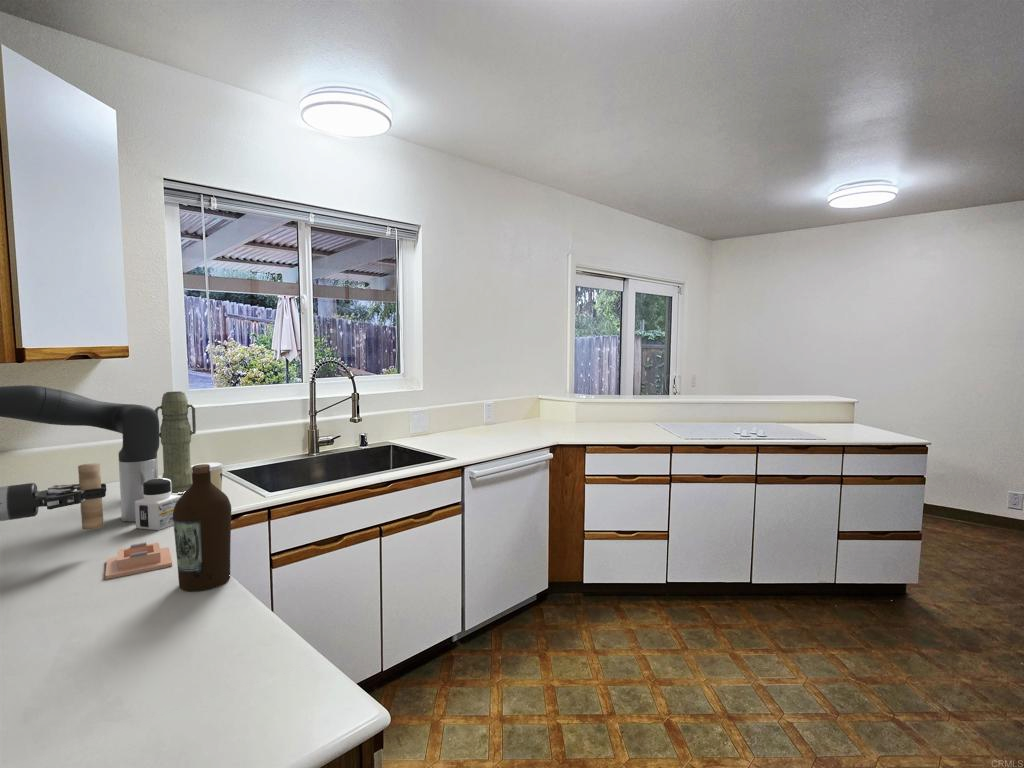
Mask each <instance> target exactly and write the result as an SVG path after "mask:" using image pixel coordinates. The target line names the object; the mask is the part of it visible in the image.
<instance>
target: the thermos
mask: <svg viewBox="0 0 1024 768" xmlns="http://www.w3.org/2000/svg"><path fill="white" fill-rule="evenodd" d="M162 395H163V396H162V397H161V402H160V403H161V404H160V405H159V406H157V407H156V408H155V409H153V410H154V411H155V412H156V413H157V415H158V413H159V410H161V416H162V419H161V425H160V426H159V439H160V443H161V445H162V460H163V464H162V465H163V474H162V477H161V478H166V479H170V480H171V489H172V493H178V492H184V491H187V490H188V489H189V488H190V487H191V485H192V483H191V473H190V468H191V447H190V445H191V444H190V443H191V442H192V436H193V435H195V434H196V430H197V428H196V425H197V424H196V408H195V407H194V406H193V404H189V403H188V402H189V401H188V398H187V396H186V393H185V392H183V391H166V392H164V393H163V394H162ZM189 408H191V418H192V419H191V421H192V422H191V423H192V424H190V422H189V417H188V414H189ZM158 416H159V415H158ZM191 425H192V430H191Z"/></svg>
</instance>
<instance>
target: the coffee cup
mask: <svg viewBox="0 0 1024 768" xmlns="http://www.w3.org/2000/svg"><path fill="white" fill-rule="evenodd" d="M201 464H208V465H210V471H211V483H212V484H213V485H215V486H216V487H217V488H218V489H220V490H221V491H222V490H223V489H222V488H223V468H224V466H223V463H221V462H216V461H214V462H211V461H210V462H201V463H196V464H193V465H190V473H191V483H193V482H192V473H193V470H192V467H193V466H195V465H201ZM222 492H223V491H222Z"/></svg>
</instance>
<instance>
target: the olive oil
mask: <svg viewBox="0 0 1024 768" xmlns="http://www.w3.org/2000/svg"><path fill="white" fill-rule="evenodd" d="M194 465H195V464H194ZM192 470H193V473H192V482H193V483H192V485H191V487H190V488H189V489H188V490H187V491H186V492H185V493H184V494H181V496H180V499H179V500H178V501H177V503H176V505H175V507H174V511H173V518H172V520H173V525H172V526H173V533H174V542H175V544H174V545H175V553H176V554H175V555H176V562H177V563H176V564H177V575H178V587H179V589H180V590H181V591H185V592H203V591H209V590H212V589H215V588H217V587H218V588H219V587H220V586H222V585H224V584H225V583H227V582H228V581H229V580H230V579H231V543H232V542H231V541H232V540H231V534H232V533H231V532H232V504H231V501H230V499H229V496H227V494H226V493H225V492H223V491H221V490H220V489H218V488H217V487H216V486H215V485H213V484H212V483H211V471H210V465H208V464H201V465H195V466H193V467H192ZM229 575H230V576H229Z"/></svg>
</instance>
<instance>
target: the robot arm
mask: <svg viewBox="0 0 1024 768" xmlns="http://www.w3.org/2000/svg"><path fill="white" fill-rule="evenodd" d="M154 410H155V409H153V408H151V407H150V406H147V405H143V404H132V403H119V402H117V403H116V402H106V401H101V400H96V399H93V398H92V399H91V398H89V397H86V396H83V395H81V394H77V393H73V392H70V391H65V390H61V389H55V388H51V387H47V386H40V385H32V384H31V385H28V384H27V385H4V386H0V418H8V419H12V420H14V419H15V420H20V421H21V420H22V421H28V422H33V423H39V424H46V425H54V426H70V427H71V426H78V427H79V426H80V427H82V426H83V427H87V426H88V427H93V428H100V429H103V430H107V431H112V432H116V433H119V434H121V435H122V445H121V449H120V450H119V451H118V471H119V472H118V473H119V491H120V495H119V496H120V498H119V499H120V514H121V515H120V516H121V519H122V520H121V521H123V520H126V521H125V522H136V517H135V501H138V500H141V499H144V498H145V497H144V494H143V484H144V482H146V481H148V480H151V479H157V478H159V469H158V450H159V448H160V437H159V434H160V418H159V415H157V413H156V412H155V411H154ZM106 493H107V484H106V483H101V488H95V489H88V490H85V491H84V490H80V488H79V483H72V484H61V485H60V484H59V485H57V484H55V485H53V486H50V487H47V489H45V490H38V485H37V484H36V483H35V482H29V483H22V484H15V485H12V484H11V485H6V486H0V522H6V521H13V520H19V519H25V518H32V517H36V516H37V515H38V513H39V508H40V507H41V508H45V507H46V509H47V510H53V509H58V508H64V507H70V506H73V505H79V504H81V502H83V501H85V499H86V500H87V499H95V498H102V499H103V498H106V496H107V494H106Z"/></svg>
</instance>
